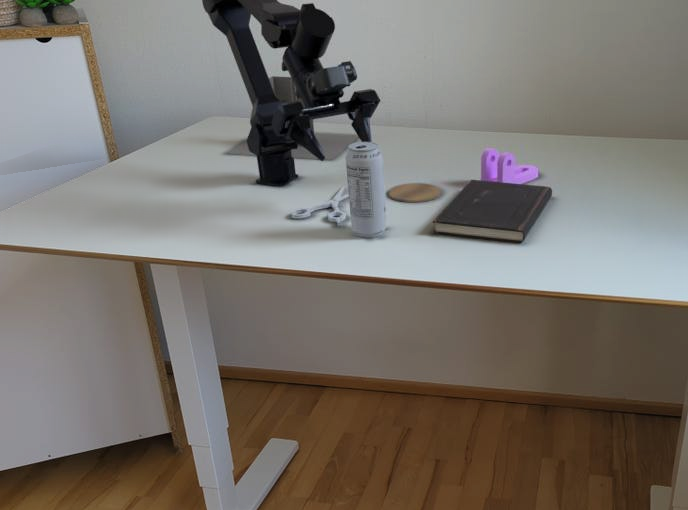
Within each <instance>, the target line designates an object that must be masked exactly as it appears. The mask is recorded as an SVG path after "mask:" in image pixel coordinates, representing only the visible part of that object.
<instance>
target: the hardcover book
mask: <svg viewBox="0 0 688 510" xmlns="http://www.w3.org/2000/svg"><path fill="white" fill-rule="evenodd" d="M552 196H553V189H552V187H551V186H546V185H534V184H525V183H522V184H513V183H503V182H492V181H481V179H471V180H470V181H469V182H468V183H467V184H466V185H465V186H464V187H463V188H462V189H461V190H460V192H458V193H457V195H456V196H455V197H454V198H453V199H452V200H451V201H450V202H449V203H448V204H447V205H446V206H445V208H444V209H443V210H442V211H440V213H439V214H438V215H437V216H436V217H435V218H434V219H433V221H432V223H433V224H435V226H434V228H435V229H434V230H433V232H432V233H433V234H436V235H442V236H443V235H445V236H451V237H452V236H453V237H460V238H461V237H462V238H470V239H471V238H472V239H480V240H488V241H499V242H506V243H507V242H508V243H516V244H522V243H523V242H524V241H525V239H526V238H527V236H528V235H529V233H530V231H531V230H532V228H533V227H534V225H535V224H536V222H537V220H538V219H539V217H540V215H541V214H542V212H543V211H544V209H545V208H546V206H547V204H548V203H549V201H550V199H551V198H552Z"/></svg>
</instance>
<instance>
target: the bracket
mask: <svg viewBox="0 0 688 510" xmlns="http://www.w3.org/2000/svg"><path fill="white" fill-rule="evenodd" d="M499 153H500V152H499V151H498V150H497V149H494V148H491V147H486V148H485V149H484V150H483V152H482V154H481V157H480V160H481V161H480V180H481V181H492V182H503V183H513V184H525V183H528V182H530V181H532V180H536V179H537V178H538V177H539V168H538V167H537V166H535V165H529V164H519V165H517V164H516V157H515V155H514V154H513V153H512V152H511V153H510V152H506V151H504V152H501V154H499Z"/></svg>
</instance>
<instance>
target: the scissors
mask: <svg viewBox="0 0 688 510" xmlns="http://www.w3.org/2000/svg"><path fill="white" fill-rule="evenodd" d="M345 186H346V184H345V185H343V186H342V187H341V189H339V190H338V191H337V193H336V194H335V195H334V197H333V198H332V199H329V200H327V201H326V202H323V203H320V204H317V205H313V206H311V207H302V208H297V209H294V210H292V211H291V212H290V213H291V218H292V219H297V220H298V219H305V218H308V217H310V216H312V213H313V212H314V211H317V210H322V209H327V208H332V209H333V211H331V212H328V213H327V219H328V221H330V222H335V223H336V224H337V226H338V227H341V226H342V222H343V221H344V220H346V218H347V214H346V212H344V211H341V210H340V207H339V203H340V202H342V201H343V200H345V199H347V198H349V192H348V193H346V194H344V195H343V193H344V189H345ZM336 216H337V217H336Z"/></svg>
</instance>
